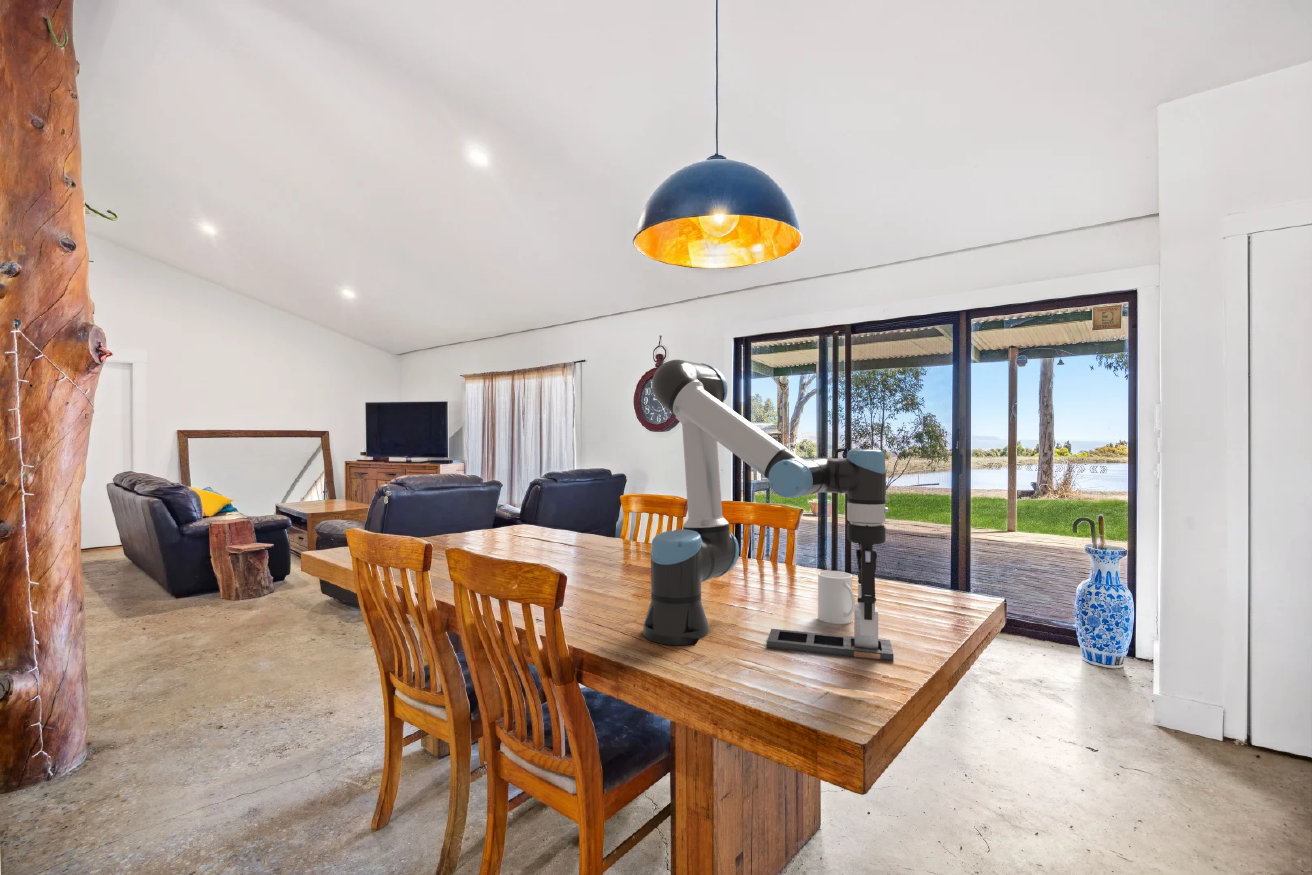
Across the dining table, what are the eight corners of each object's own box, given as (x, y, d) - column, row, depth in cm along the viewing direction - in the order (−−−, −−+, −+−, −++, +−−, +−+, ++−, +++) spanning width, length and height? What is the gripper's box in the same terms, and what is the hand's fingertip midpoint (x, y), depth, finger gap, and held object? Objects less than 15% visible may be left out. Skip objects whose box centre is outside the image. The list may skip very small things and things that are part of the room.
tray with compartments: (767, 652, 124) (767, 641, 124) (771, 639, 132) (771, 628, 132) (893, 666, 117) (893, 654, 117) (889, 651, 125) (889, 640, 125)
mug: (867, 631, 138) (867, 580, 138) (834, 633, 136) (834, 582, 136) (841, 616, 150) (841, 569, 150) (811, 618, 148) (811, 571, 148)
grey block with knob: (854, 653, 121) (854, 607, 121) (854, 646, 125) (854, 601, 125) (878, 656, 119) (878, 609, 119) (876, 648, 124) (876, 603, 124)
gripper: (890, 533, 109) (890, 646, 109) (881, 516, 133) (881, 609, 133) (848, 531, 111) (848, 642, 111) (846, 514, 135) (846, 606, 135)
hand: (866, 624), depth 122 cm, fingers open, 13 cm apart
